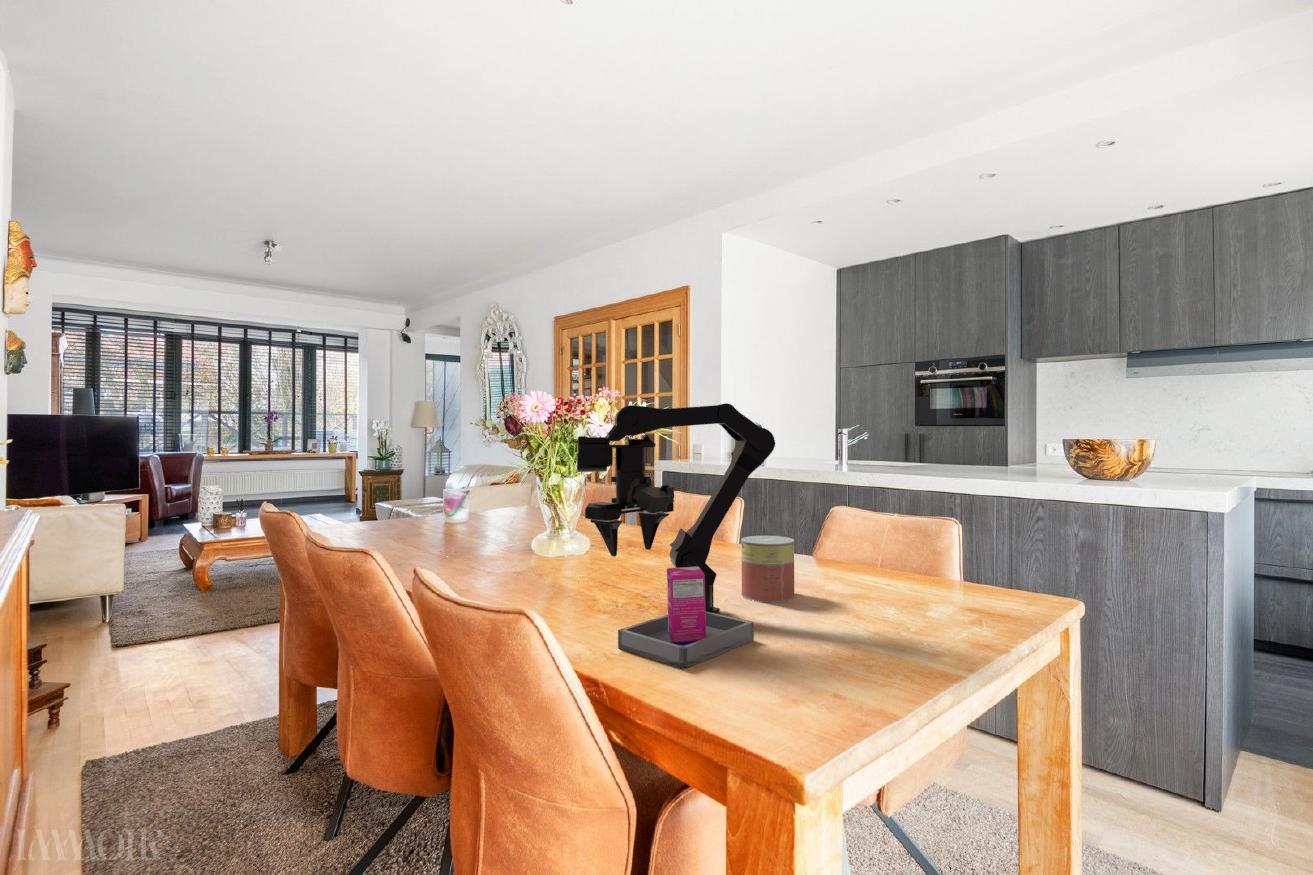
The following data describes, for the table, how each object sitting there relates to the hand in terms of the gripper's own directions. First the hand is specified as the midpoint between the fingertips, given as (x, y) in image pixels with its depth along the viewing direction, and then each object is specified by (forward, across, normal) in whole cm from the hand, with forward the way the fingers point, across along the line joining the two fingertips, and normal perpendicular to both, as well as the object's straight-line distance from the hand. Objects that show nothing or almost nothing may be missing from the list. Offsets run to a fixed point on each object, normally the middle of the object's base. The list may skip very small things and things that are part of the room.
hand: (631, 552), depth 126 cm
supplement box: (+11, -6, -19) cm, 23 cm away
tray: (+12, -6, -19) cm, 23 cm away
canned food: (+12, +30, -11) cm, 34 cm away
